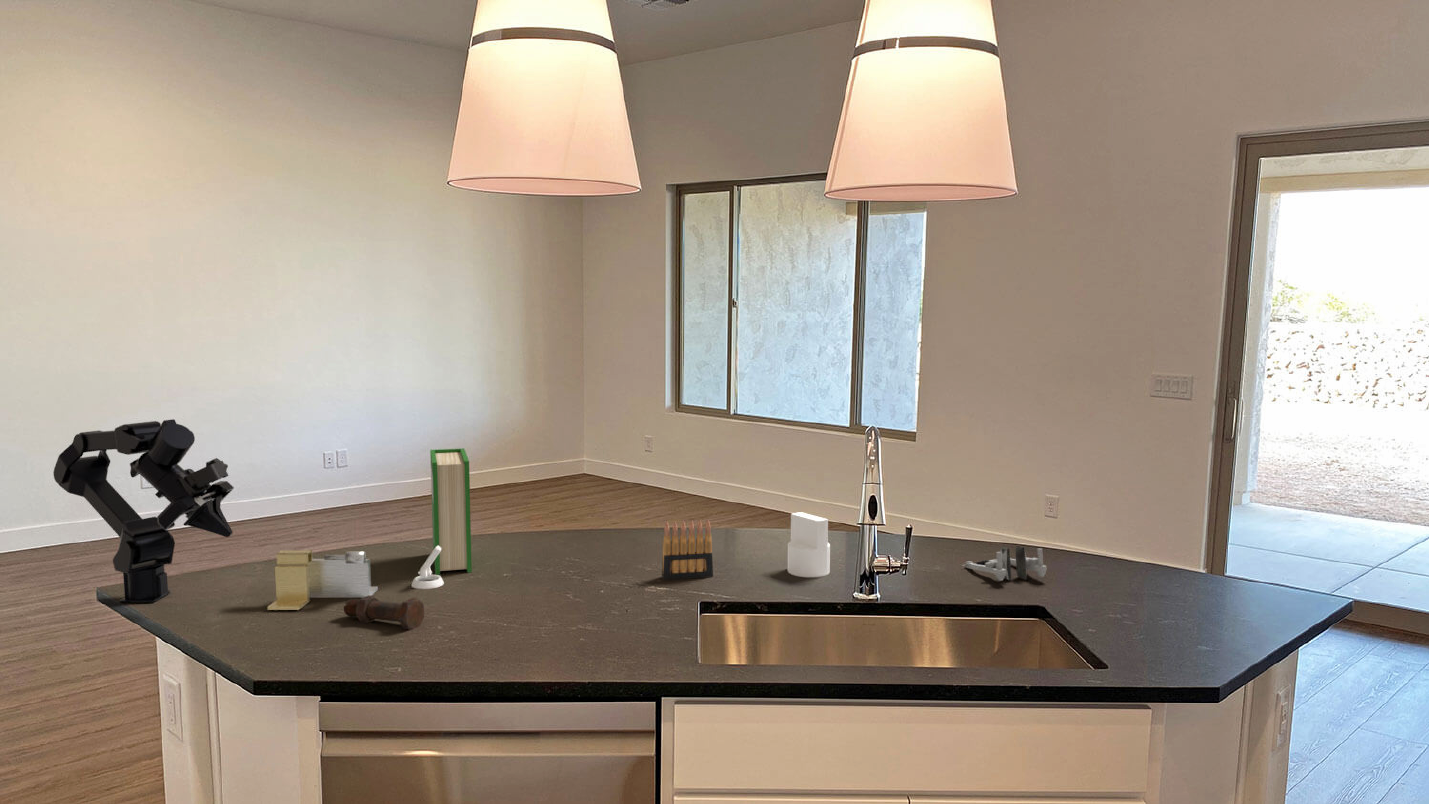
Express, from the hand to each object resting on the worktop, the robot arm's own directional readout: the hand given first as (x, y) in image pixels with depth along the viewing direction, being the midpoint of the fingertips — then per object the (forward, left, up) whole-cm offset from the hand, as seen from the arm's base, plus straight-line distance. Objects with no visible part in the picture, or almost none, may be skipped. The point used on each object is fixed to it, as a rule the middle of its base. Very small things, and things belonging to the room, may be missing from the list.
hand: (230, 535), depth 186 cm
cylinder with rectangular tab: (+112, +22, -14) cm, 115 cm away
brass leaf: (+11, -1, -13) cm, 17 cm away
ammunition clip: (+86, +18, -14) cm, 89 cm away
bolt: (+31, -10, -14) cm, 36 cm away
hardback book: (+34, +29, -14) cm, 47 cm away
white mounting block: (+18, +5, -13) cm, 23 cm away
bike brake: (+154, +21, -14) cm, 156 cm away
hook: (+33, +13, -14) cm, 38 cm away
